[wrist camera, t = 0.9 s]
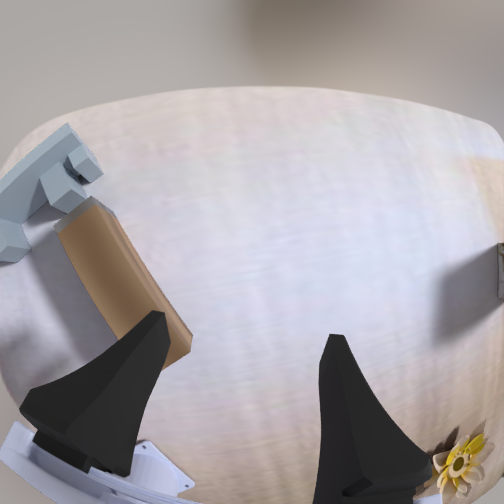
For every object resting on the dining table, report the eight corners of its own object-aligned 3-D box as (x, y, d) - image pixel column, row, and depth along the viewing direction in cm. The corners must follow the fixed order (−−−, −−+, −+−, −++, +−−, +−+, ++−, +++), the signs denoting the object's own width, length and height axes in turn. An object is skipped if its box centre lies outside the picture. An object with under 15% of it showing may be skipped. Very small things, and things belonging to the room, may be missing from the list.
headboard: (4, 275, 22) (-36, 274, 15) (-8, 242, 22) (-47, 234, 15) (110, 186, 25) (84, 160, 18) (93, 153, 25) (67, 122, 18)
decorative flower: (490, 403, 30) (524, 431, 20) (471, 444, 32) (498, 471, 23) (428, 444, 29) (463, 484, 19) (411, 481, 31) (437, 517, 21)
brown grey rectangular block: (159, 357, 25) (148, 379, 19) (81, 235, 24) (53, 225, 19) (192, 335, 26) (190, 351, 20) (113, 211, 25) (91, 195, 19)
